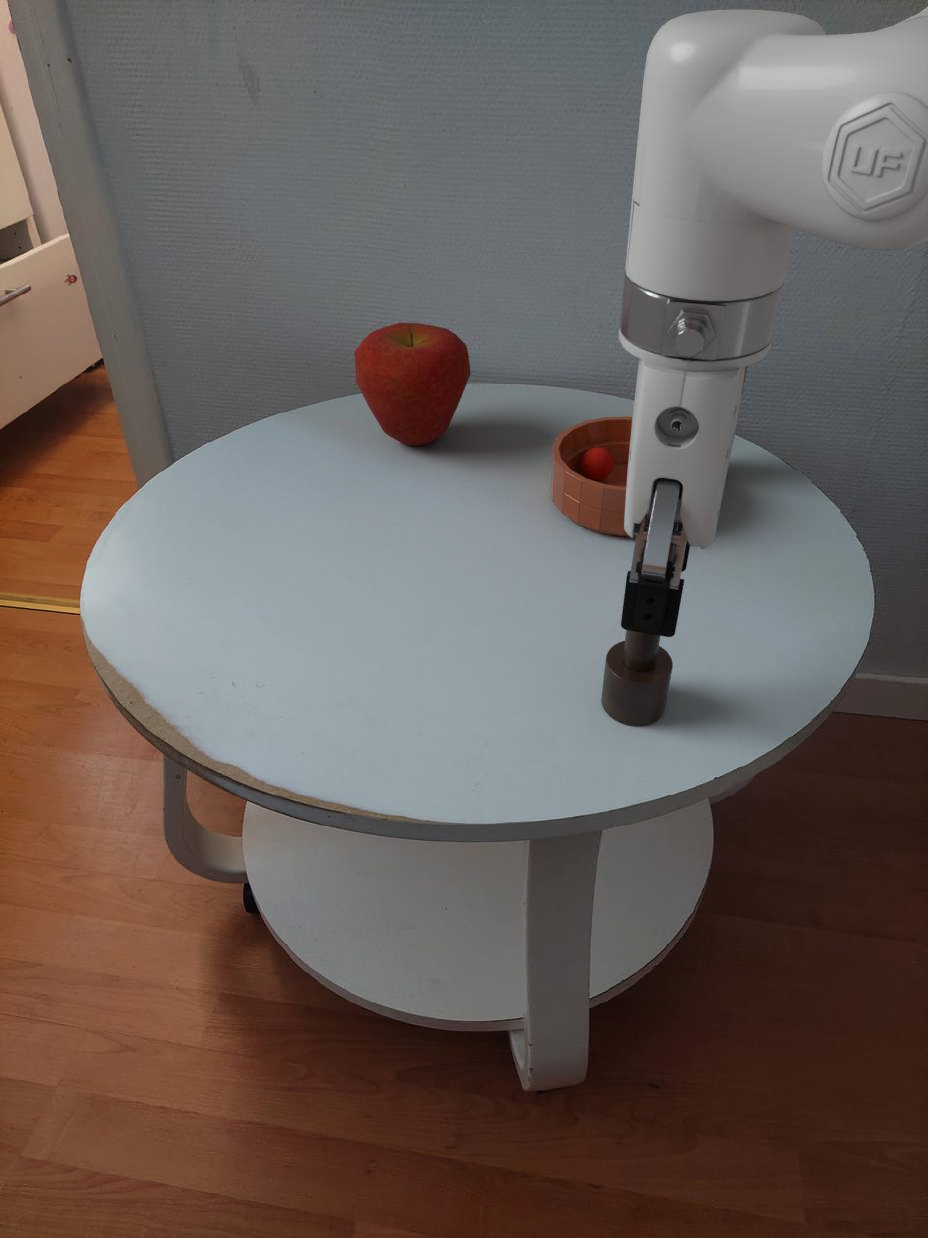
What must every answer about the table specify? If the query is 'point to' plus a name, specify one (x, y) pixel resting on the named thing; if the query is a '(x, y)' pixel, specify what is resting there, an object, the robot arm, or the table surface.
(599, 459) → the berry
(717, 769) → the table surface
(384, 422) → the apple
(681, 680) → the table surface
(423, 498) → the table surface
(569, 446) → the bowl
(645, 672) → the brown wooden peg
